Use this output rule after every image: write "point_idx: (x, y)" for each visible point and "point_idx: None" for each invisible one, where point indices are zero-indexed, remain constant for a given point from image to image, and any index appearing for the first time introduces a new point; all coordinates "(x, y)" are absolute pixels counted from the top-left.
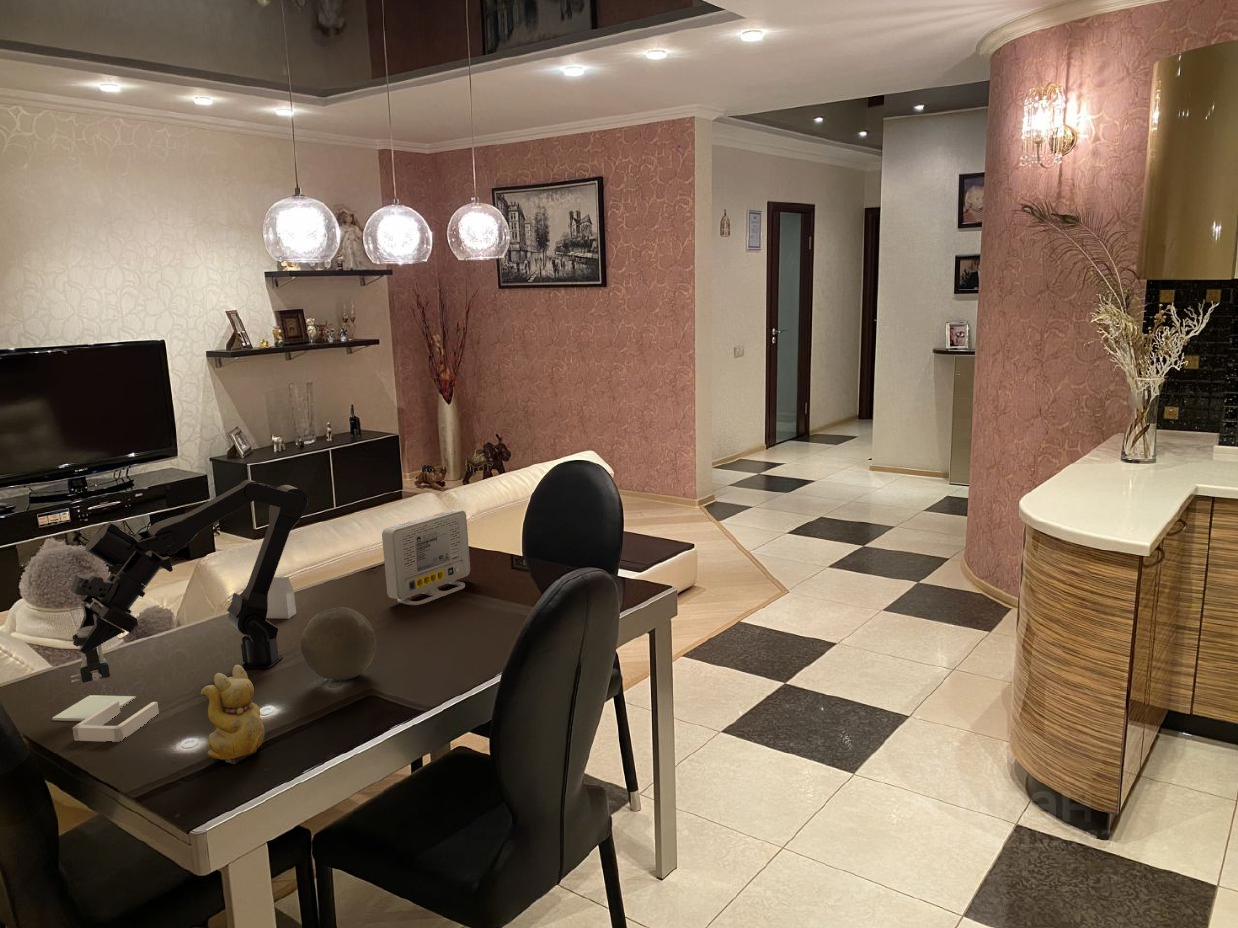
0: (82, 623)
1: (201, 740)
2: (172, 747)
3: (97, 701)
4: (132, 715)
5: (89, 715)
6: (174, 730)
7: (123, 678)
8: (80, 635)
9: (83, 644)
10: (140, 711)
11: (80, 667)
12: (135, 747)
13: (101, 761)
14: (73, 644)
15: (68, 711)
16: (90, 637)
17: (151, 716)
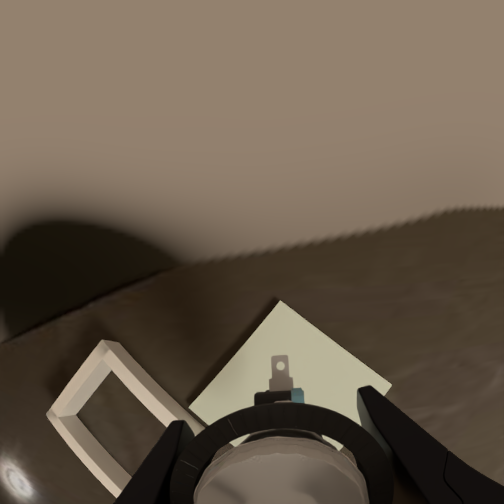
0: (440, 481)
1: (20, 495)
2: (14, 460)
3: (328, 407)
4: (91, 458)
5: (233, 386)
6: (65, 493)
7: (467, 446)
8: (228, 461)
9: (164, 449)
10: (104, 478)
11: (300, 395)
12: (34, 423)
13: (19, 366)
14: (359, 388)
15: (301, 338)
16: (120, 498)
17: None
